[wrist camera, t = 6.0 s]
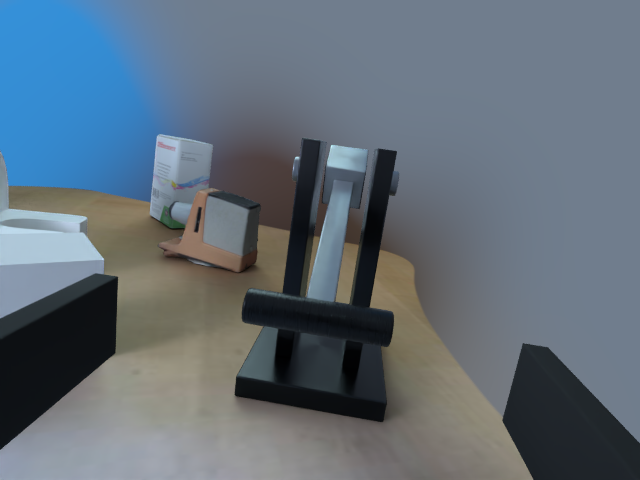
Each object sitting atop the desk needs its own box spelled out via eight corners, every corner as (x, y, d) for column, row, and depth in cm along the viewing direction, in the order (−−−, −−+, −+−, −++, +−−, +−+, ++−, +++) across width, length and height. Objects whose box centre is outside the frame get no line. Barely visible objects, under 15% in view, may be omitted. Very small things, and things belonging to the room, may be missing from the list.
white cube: (101, 360, 24) (104, 259, 23) (-36, 386, 20) (-42, 267, 19) (82, 317, 29) (83, 231, 27) (-33, 332, 25) (-38, 234, 24)
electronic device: (179, 246, 48) (184, 181, 46) (258, 264, 46) (266, 196, 44) (155, 255, 44) (160, 183, 42) (241, 275, 42) (249, 200, 40)
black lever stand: (383, 423, 22) (435, 156, 19) (233, 396, 22) (261, 131, 19) (376, 339, 32) (409, 153, 29) (271, 321, 32) (294, 137, 29)
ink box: (149, 215, 62) (153, 133, 59) (183, 215, 65) (189, 137, 62) (170, 229, 55) (176, 138, 53) (207, 228, 59) (214, 142, 56)
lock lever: (384, 363, 16) (397, 321, 14) (241, 339, 16) (239, 294, 15) (389, 188, 26) (396, 153, 25) (301, 176, 26) (304, 140, 25)
